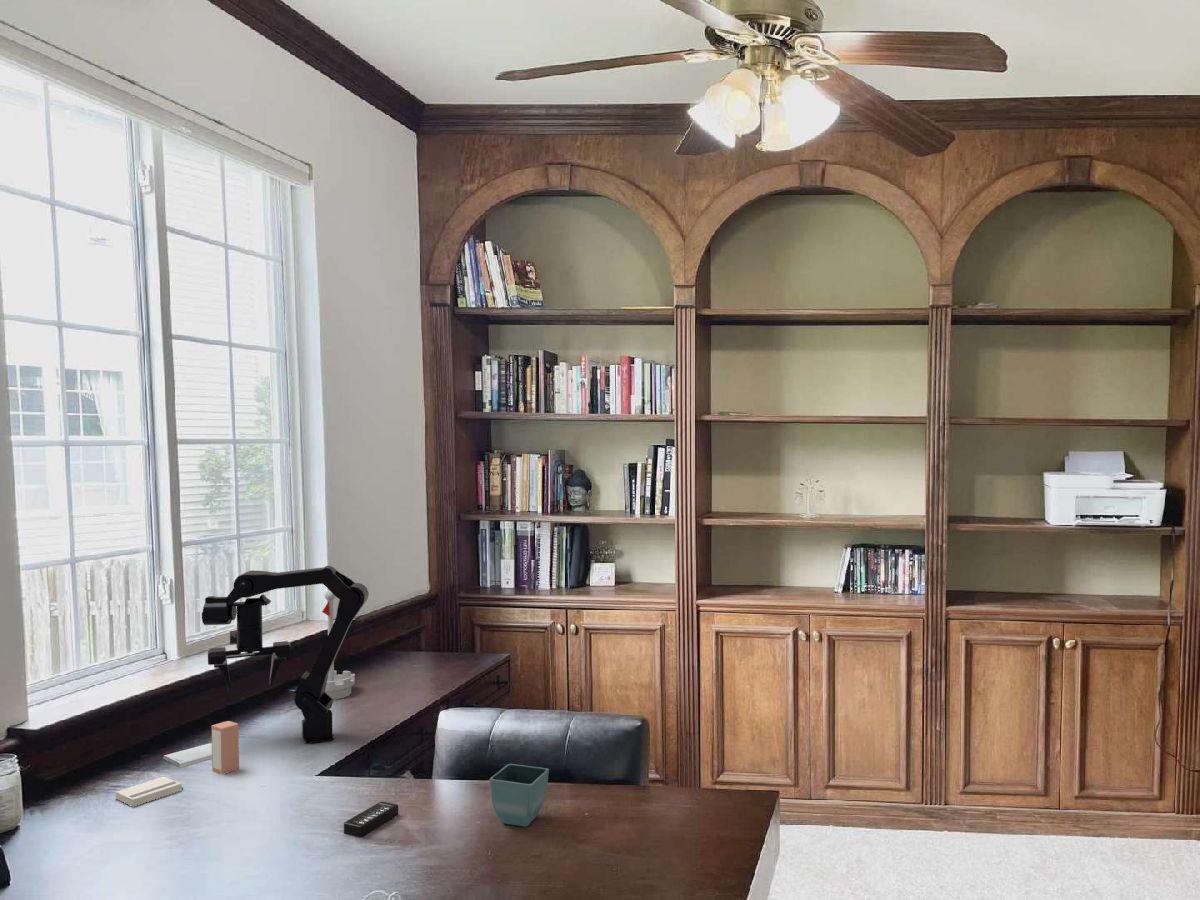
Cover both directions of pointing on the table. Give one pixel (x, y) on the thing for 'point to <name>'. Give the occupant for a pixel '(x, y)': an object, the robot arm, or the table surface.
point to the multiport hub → (370, 819)
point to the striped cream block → (148, 791)
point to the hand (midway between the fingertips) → (250, 688)
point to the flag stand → (336, 683)
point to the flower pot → (518, 793)
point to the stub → (225, 747)
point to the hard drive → (190, 755)
